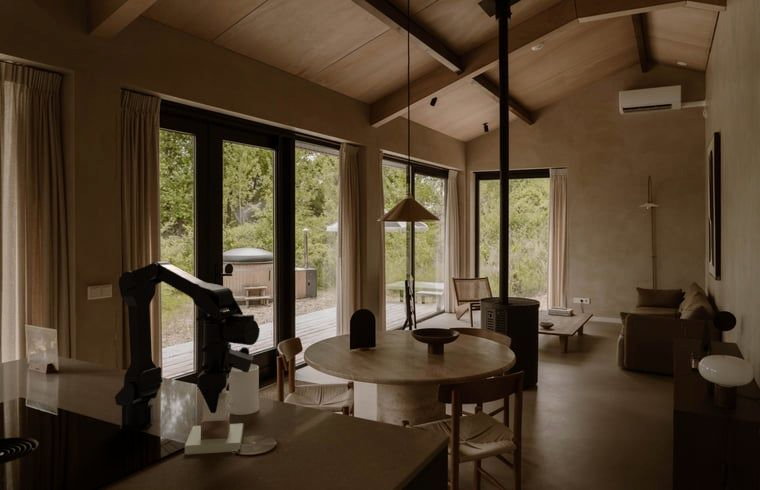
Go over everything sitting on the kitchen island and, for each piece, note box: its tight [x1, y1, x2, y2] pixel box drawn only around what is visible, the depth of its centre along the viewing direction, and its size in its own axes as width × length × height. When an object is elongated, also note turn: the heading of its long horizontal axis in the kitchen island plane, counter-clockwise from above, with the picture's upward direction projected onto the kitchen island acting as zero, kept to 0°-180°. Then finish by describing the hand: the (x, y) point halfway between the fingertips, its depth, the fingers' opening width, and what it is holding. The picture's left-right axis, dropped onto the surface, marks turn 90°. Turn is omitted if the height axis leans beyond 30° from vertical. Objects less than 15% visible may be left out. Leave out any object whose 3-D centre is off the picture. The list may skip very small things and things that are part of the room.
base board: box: [184, 422, 244, 455], centre depth 125 cm, size 12×12×2 cm
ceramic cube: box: [202, 392, 228, 422], centre depth 125 cm, size 5×5×5 cm
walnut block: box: [200, 411, 231, 440], centre depth 125 cm, size 6×6×4 cm
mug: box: [222, 363, 260, 416], centre depth 147 cm, size 12×8×12 cm
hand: (215, 406), depth 125 cm, fingers open, 9 cm apart
